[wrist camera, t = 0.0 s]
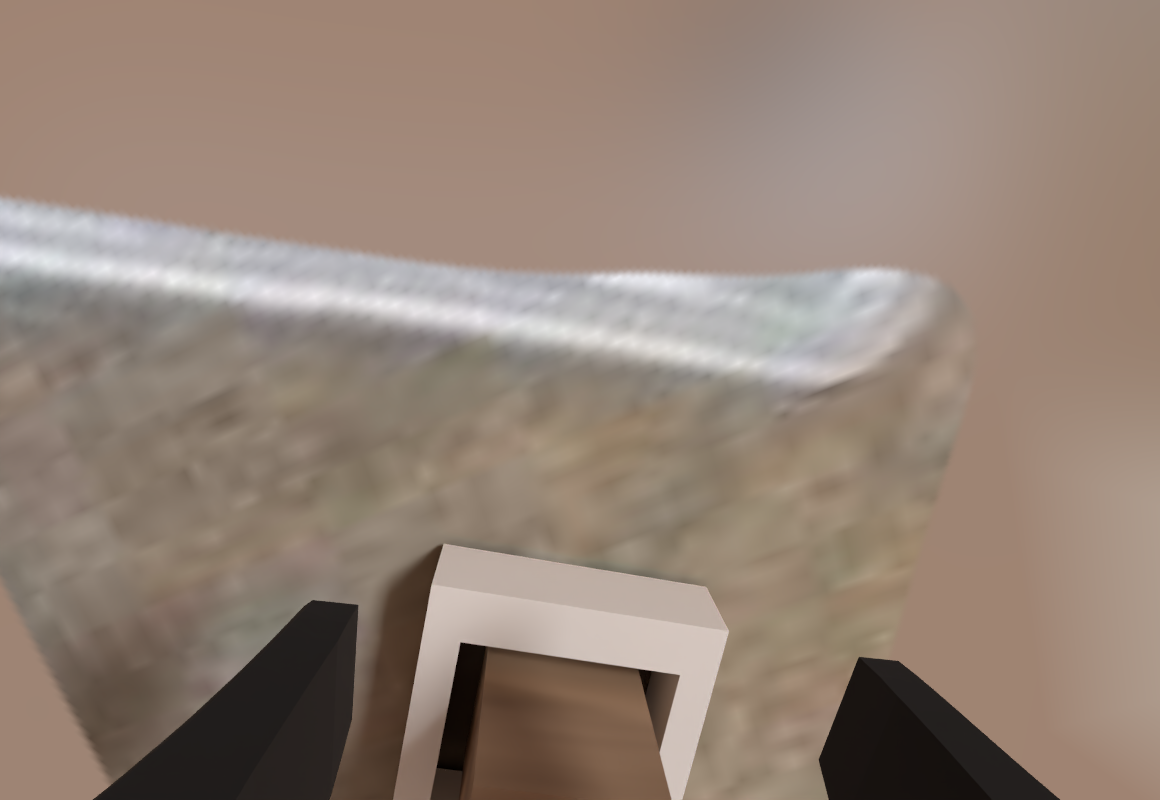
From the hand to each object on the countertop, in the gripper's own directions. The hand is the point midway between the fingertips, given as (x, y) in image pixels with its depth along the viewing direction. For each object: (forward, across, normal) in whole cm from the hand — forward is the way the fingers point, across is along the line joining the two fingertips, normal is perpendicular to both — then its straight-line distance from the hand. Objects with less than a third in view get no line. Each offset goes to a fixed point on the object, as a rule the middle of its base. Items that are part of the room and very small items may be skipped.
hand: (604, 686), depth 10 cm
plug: (+9, 0, +9) cm, 13 cm away
